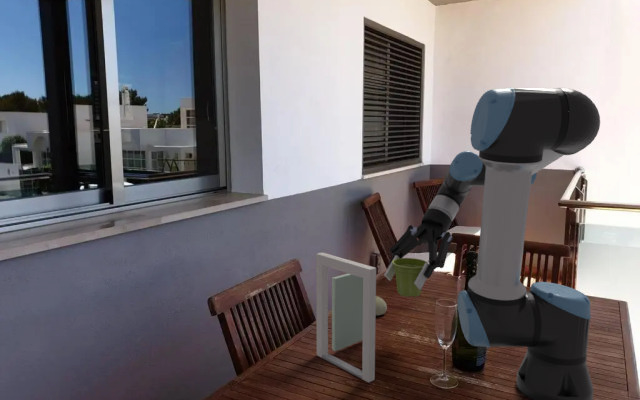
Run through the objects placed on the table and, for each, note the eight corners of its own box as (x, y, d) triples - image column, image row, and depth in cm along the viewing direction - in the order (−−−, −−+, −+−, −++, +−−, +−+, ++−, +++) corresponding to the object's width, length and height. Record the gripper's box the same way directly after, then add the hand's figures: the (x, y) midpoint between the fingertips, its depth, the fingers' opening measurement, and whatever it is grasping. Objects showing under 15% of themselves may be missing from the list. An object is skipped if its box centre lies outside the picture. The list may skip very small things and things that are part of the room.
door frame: (374, 379, 114) (376, 267, 110) (368, 382, 113) (369, 269, 109) (322, 352, 128) (322, 252, 124) (316, 355, 126) (316, 253, 122)
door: (364, 333, 137) (365, 266, 134) (371, 336, 135) (372, 268, 132) (328, 348, 128) (328, 276, 125) (335, 351, 126) (335, 278, 123)
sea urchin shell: (389, 301, 159) (387, 290, 153) (386, 324, 155) (384, 314, 148) (361, 298, 161) (357, 287, 155) (357, 321, 157) (354, 311, 151)
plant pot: (402, 285, 140) (403, 255, 139) (433, 292, 135) (434, 261, 133) (384, 294, 133) (385, 263, 132) (416, 302, 127) (417, 269, 126)
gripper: (480, 229, 133) (442, 300, 125) (414, 218, 150) (377, 280, 142) (469, 212, 129) (430, 283, 121) (403, 202, 146) (364, 265, 137)
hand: (401, 281), depth 131 cm, fingers closed on plant pot, 9 cm apart
